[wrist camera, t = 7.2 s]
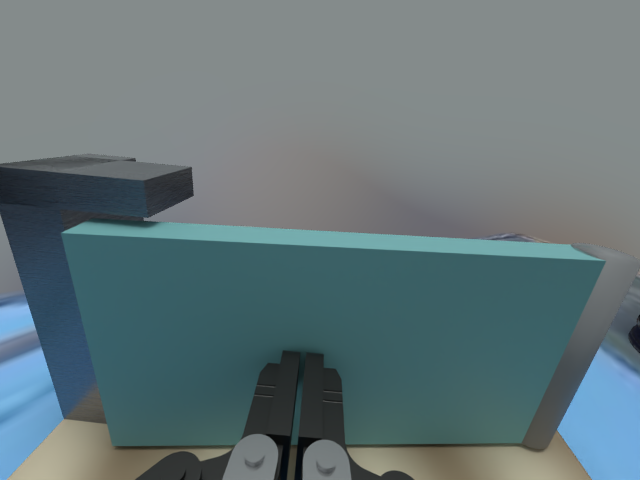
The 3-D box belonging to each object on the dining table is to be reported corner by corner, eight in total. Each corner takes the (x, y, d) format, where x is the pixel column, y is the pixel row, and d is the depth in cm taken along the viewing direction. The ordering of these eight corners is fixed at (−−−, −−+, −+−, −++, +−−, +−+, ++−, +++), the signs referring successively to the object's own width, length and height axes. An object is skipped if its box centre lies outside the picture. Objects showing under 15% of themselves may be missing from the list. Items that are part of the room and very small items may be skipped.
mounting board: (464, 319, 28) (468, 305, 27) (652, 614, 11) (672, 593, 11) (198, 291, 29) (197, 277, 28) (-4, 527, 12) (-16, 503, 11)
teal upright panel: (529, 409, 17) (603, 244, 13) (560, 448, 15) (658, 266, 11) (134, 407, 15) (97, 215, 11) (108, 452, 13) (53, 236, 9)
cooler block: (415, 319, 25) (449, 170, 20) (472, 468, 14) (571, 220, 10) (181, 294, 25) (166, 144, 21) (64, 418, 15) (-15, 165, 10)
